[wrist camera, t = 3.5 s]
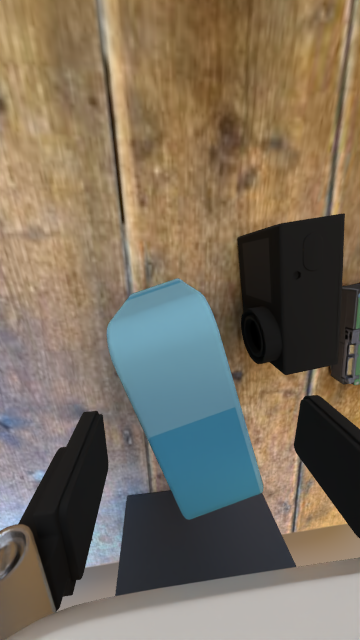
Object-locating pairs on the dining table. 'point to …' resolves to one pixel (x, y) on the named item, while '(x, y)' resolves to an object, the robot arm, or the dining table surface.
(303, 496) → the dining table surface
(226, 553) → the plinth
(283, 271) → the digital camera
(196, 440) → the data package
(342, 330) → the disk drive
